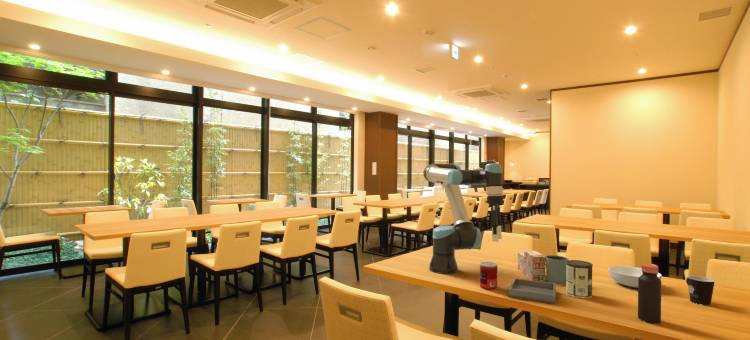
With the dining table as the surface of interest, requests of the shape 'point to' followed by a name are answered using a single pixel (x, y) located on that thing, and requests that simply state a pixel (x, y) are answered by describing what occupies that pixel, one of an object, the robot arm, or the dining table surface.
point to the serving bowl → (627, 275)
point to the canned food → (488, 275)
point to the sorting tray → (533, 290)
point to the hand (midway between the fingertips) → (497, 240)
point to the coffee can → (579, 279)
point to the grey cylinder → (556, 269)
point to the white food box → (532, 265)
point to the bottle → (649, 294)
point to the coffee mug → (700, 289)
